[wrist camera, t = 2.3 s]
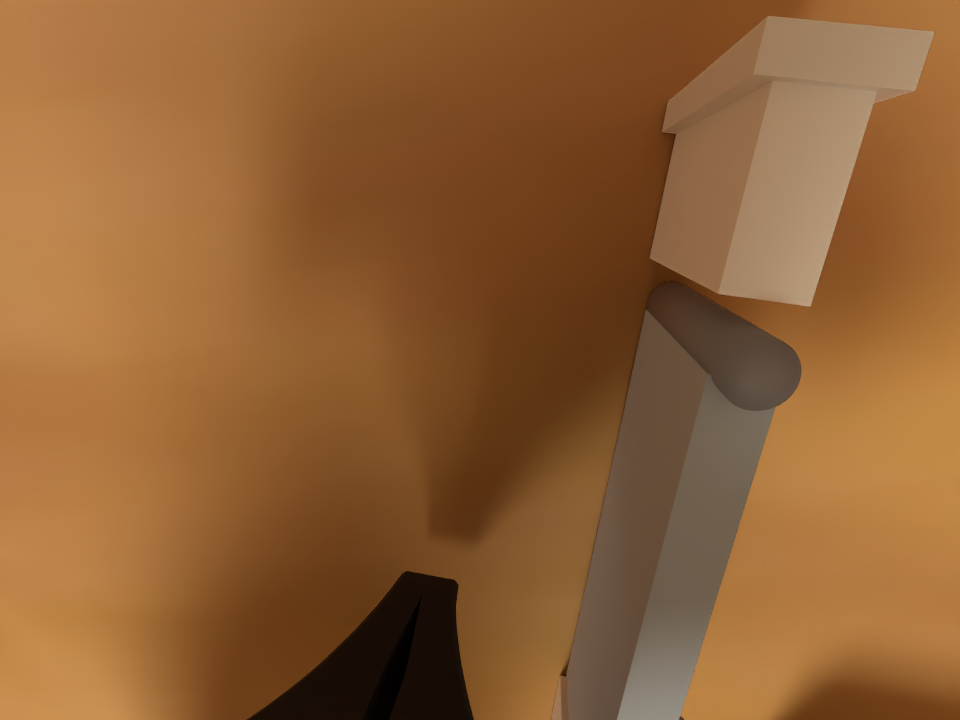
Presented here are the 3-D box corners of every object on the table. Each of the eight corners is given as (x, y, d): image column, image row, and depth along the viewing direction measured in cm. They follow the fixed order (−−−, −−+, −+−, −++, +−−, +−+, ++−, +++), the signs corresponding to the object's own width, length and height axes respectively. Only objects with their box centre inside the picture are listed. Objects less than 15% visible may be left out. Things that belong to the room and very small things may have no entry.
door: (644, 689, 15) (693, 932, 10) (566, 674, 15) (575, 904, 10) (754, 292, 12) (911, 357, 7) (652, 278, 12) (730, 332, 7)
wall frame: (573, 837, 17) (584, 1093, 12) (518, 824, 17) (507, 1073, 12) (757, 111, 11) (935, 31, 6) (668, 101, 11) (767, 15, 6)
